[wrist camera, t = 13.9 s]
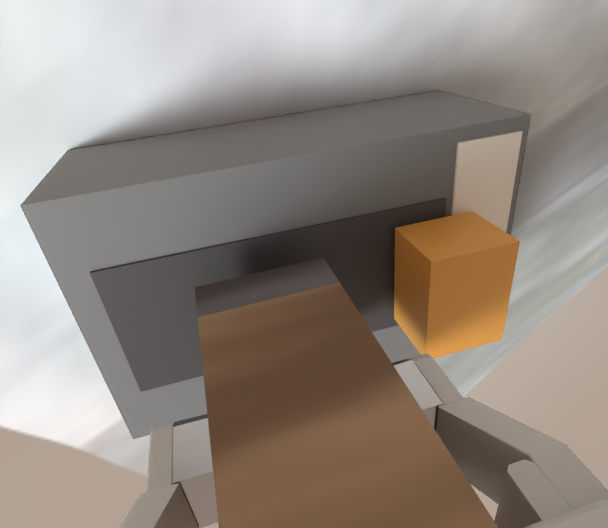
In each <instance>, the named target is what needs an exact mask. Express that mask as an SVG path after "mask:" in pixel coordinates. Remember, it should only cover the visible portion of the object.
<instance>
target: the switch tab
mask: <svg viewBox="0 0 608 528" xmlns="http://www.w3.org/2000/svg"><path fill="white" fill-rule="evenodd" d="M519 243H520V241H519V240H517V239H516V238H514V237H512V236H511V235H509V234H508V233H506V232H505V231H503V230H501V229H500V228H498V227H497V226H495V225H494V224H492V223H490V222H489V221H487V220H486V219H484V218H483V217H481V216H479V215H478V214H476V213H475V212H473V211H470V212H466V213H461V214H456V215H452V216H447V217H443V218H438V219H433V220H429V221H424V222H419V223H415V224H410V225H406V226H401V227H396V228H395V271H394V319H395V320H396V322H397V323H398V324H399V326H400V327H401V328H402V330H403V331H404V333H405V334H406V335H407V337H408V338H409V339H410V341H411V342H412V343H413V345H414V346H415V347H416V349H417V350H418V352H419V353H420V354H421V355H423V354H429V355H431V356H432V358H436V357H440V356H444V355H447V354H451V353H454V352H458V351H462V350H465V349H469V348H473V347H476V346H480V345H483V344H487V343H491V342H494V341H498V340H501V339H502V336H503V330H504V325H505V319H506V314H507V308H508V303H509V297H510V292H511V287H512V281H513V276H514V270H515V265H516V259H517V254H518V248H519Z"/></svg>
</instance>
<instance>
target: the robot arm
mask: <svg viewBox="0 0 608 528" xmlns="http://www.w3.org/2000/svg"><path fill="white" fill-rule="evenodd" d="M392 364H393V366H394V367H395V369H396V370H397V372H398V373H399V375H400V376H401V378H402V380H403V381H404V383H405V384H406V386H407V387H408V389H409V390H410V392H411V394H412V395H413V397H414V398H415V400H416V401H417V403H418V404H419V406H420V407H421V409H422V411H423V412H424V414H425V415H426V417H427V418H428V420H429V421H430V423H431V424H432V426H433V428H434V429H435V431H436V432H437V434H438V435H439V437H440V438H441V440H442V441H443V443H444V445H445V446H446V448H447V449H448V451H449V452H450V454H451V455H452V457H453V459H454V460H455V462H456V463H457V465H458V466H459V468H460V469H461V471H462V472H463V474H464V476H465V477H466V479H467V480H468V482H469V483H470V484H471V485H473V486H474V487H476V488H477V489H478V490H480V491H481V492H482V493H484V494H485V495H486V496H488V497H489V498H491V499H492V500H493V501H495V502H496V503H497V504H499V505H498V509H497V513H496V516H495V520H494V522H495V524H496V525H497V527H498V528H608V490H607V489H606V488H605V487H604V485H603V484H602V483H601V482H600V481H599V480H598V479H597V478H596V477H595V476H594V474H592V472H591V471H590V470H589V469H588V468H587V467H586V466H585V465H584V464H583V462H582V461H581V460H580V459H579V458H578V457H577V456H576V455H575V454H574V453H573V452H572V450H571V449H570V448H569V447H568V446H567V445H566V444H564V443H562V442H560V441H558V440H556V439H554V438H552V437H550V436H548V435H546V434H543V433H541V432H540V431H537V430H535V429H533V428H531V427H529V426H527V425H525V424H523V423H521V422H519V421H517V420H515V419H513V418H511V417H509V416H507V415H505V414H503V413H501V412H498V411H496V410H494V409H492V408H490V407H488V406H486V405H484V404H482V403H480V402H478V401H476V400H474V399H472V398H470V397H468V398H463V397H462V396H461V394H460V393H459V392H458V390H457V389H456V388H455V386H454V385H453V384H452V383H451V381H450V380H449V379H448V377H447V376H446V375H445V373H444V372H443V371H442V369H441V368H440V367H439V366H438V364H437V363H436V362H435V360H434V359H433V358H432V356H431V355H429V354H423V355H419V356H416V357H412V358H409V359H404V360H401V361H397V362H394V363H392ZM217 522H218V514H217V504H216V494H215V485H214V475H213V465H212V455H211V445H210V435H209V425H208V415H207V414H204V415H200V416H196V417H192V418H188V419H184V420H180V421H176V422H173V423H169V424H165V425H161V426H157V427H153V428H152V431H151V434H150V447H149V462H148V478H147V492H146V493H143V494H140V495H139V497H138V498H137V500H136V501H135V503H134V505H133V506H132V508H131V509H130V511H129V512H128V514H127V515H126V517H125V518H124V520H123V521H122V523H121V524H120V526H119V527H118V528H202V527H205V526H208V525H211V524H214V523H217Z"/></svg>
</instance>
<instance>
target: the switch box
mask: <svg viewBox="0 0 608 528" xmlns="http://www.w3.org/2000/svg"><path fill="white" fill-rule="evenodd" d="M530 117H531V114H528V113H524V112H520V111H516V110H512V109H509V108H505V107H501V106H497V105H493V104H489V103H485V102H481V101H477V100H474V99H470V98H466V97H462V96H458V95H454V94H450V93H446V92H443V91H439V90H438V91H432V92H425V93H419V94H413V95H407V96H401V97H394V98H388V99H382V100H376V101H370V102H363V103H357V104H351V105H345V106H339V107H332V108H326V109H320V110H314V111H308V112H301V113H295V114H289V115H283V116H277V117H270V118H264V119H258V120H252V121H246V122H239V123H233V124H227V125H221V126H215V127H208V128H202V129H196V130H190V131H184V132H177V133H171V134H165V135H159V136H153V137H146V138H140V139H134V140H128V141H122V142H115V143H109V144H103V145H97V146H91V147H84V148H78V149H72V150H68V151H67V152H66V153H65V154H64V155H63V156H62V158H61V159H60V160H59V161H58V162H57V163H56V165H55V166H54V167H53V168H52V169H51V170H50V172H49V173H48V174H47V175H46V176H45V177H44V179H43V180H42V181H41V182H40V183H39V184H38V186H37V187H36V188H35V189H34V190H33V191H32V193H31V194H30V195H29V196H28V197H27V198H26V200H25V201H24V202H23V203H22V204H21V205H20V206H21V208H22V210H23V212H24V214H25V216H26V218H27V220H28V222H29V224H30V227H31V229H32V231H33V233H34V235H35V237H36V239H37V241H38V243H39V245H40V247H41V249H42V251H43V253H44V256H45V258H46V260H47V262H48V264H49V266H50V268H51V270H52V272H53V274H54V276H55V278H56V280H57V282H58V284H59V287H60V289H61V291H62V293H63V295H64V297H65V299H66V301H67V303H68V305H69V307H70V309H71V311H72V313H73V316H74V318H75V320H76V322H77V324H78V326H79V328H80V330H81V332H82V334H83V336H84V338H85V340H86V342H87V344H88V347H89V349H90V351H91V353H92V355H93V357H94V359H95V361H96V363H97V365H98V367H99V369H100V371H101V373H102V375H103V378H104V380H105V382H106V384H107V386H108V388H109V390H110V392H111V394H112V396H113V398H114V400H115V402H116V404H117V407H118V409H119V411H120V413H121V415H122V417H123V419H124V421H125V423H126V425H127V427H128V429H129V431H130V433H131V435H132V438H133V439H135V438H139V437H142V436H146V435H150V434H151V431H152V428H153V427H157V426H161V425H165V424H169V423H173V422H176V421H180V420H184V419H188V418H192V417H196V416H200V415H204V414H207V405H206V396H205V386H204V376H203V366H202V356H201V346H200V336H199V326H198V316H197V307H196V297H195V287H198V286H202V285H207V284H211V283H215V282H219V281H224V280H228V279H232V278H236V277H241V276H245V275H249V274H254V273H258V272H262V271H266V270H271V269H275V268H279V267H283V266H288V265H292V264H296V263H300V262H305V261H309V260H313V259H318V258H322V257H324V259H325V260H326V262H327V264H328V265H329V267H330V268H331V270H332V271H333V273H334V274H335V276H336V277H337V279H338V281H339V282H340V284H341V285H342V287H343V288H344V290H345V291H346V293H347V294H348V296H349V298H350V299H351V301H352V302H353V304H354V305H355V307H356V308H357V310H358V311H359V313H360V315H361V316H362V318H363V319H364V321H365V322H366V324H367V325H368V327H369V329H370V330H371V332H372V333H373V335H374V336H375V338H376V339H377V341H378V342H379V344H380V346H381V347H382V349H383V350H384V352H385V353H386V355H387V356H388V358H389V359H390V361H391V363H394V362H397V361H401V360H404V359H409V358H412V357H416V356H419V355H421V354H420V353H419V352H418V350H417V349H416V347H415V346H414V345H413V343H412V342H411V341H410V339H409V338H408V337H407V335H406V334H405V333H404V331H403V330H402V328H401V327H400V326H399V324H398V323H397V322H396V320H395V319H394V271H395V228H396V227H401V226H406V225H410V224H415V223H419V222H424V221H429V220H433V219H438V218H443V217H447V216H452V215H456V214H461V213H466V212H470V211H473V212H475V213H476V214H478V215H479V216H481V217H483V218H484V219H486V220H487V221H489V222H490V223H492V224H494V225H495V226H497V227H498V228H500V229H501V230H503V231H505V232H506V233H508V234H509V235H511V229H512V223H513V217H514V211H515V205H516V199H517V193H518V188H519V182H520V176H521V170H522V164H523V158H524V152H525V146H526V140H527V134H528V128H529V123H530Z"/></svg>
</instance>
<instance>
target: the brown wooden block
mask: <svg viewBox="0 0 608 528" xmlns="http://www.w3.org/2000/svg"><path fill="white" fill-rule="evenodd" d="M195 297H196V307H197V316H198V326H199V336H200V346H201V356H202V366H203V376H204V386H205V396H206V405H207V415H208V425H209V435H210V445H211V455H212V465H213V475H214V485H215V494H216V504H217V514H218V524H219V528H498V527H497V525H496V524H495V522H494V521H493V519H492V517H491V516H490V514H489V513H488V511H487V510H486V508H485V507H484V505H483V503H482V502H481V500H480V499H479V497H478V496H477V494H476V493H475V491H474V489H473V488H472V487H471V485H470V483H469V482H468V480H467V479H466V477H465V476H464V474H463V472H462V471H461V469H460V468H459V466H458V465H457V463H456V462H455V460H454V459H453V457H452V455H451V454H450V452H449V451H448V449H447V448H446V446H445V445H444V443H443V441H442V440H441V438H440V437H439V435H438V434H437V432H436V431H435V429H434V428H433V426H432V424H431V423H430V421H429V420H428V418H427V417H426V415H425V414H424V412H423V411H422V409H421V407H420V406H419V404H418V403H417V401H416V400H415V398H414V397H413V395H412V394H411V392H410V390H409V389H408V387H407V386H406V384H405V383H404V381H403V380H402V378H401V376H400V375H399V373H398V372H397V370H396V369H395V367H394V366H393V364H392V363H391V361H390V359H389V358H388V356H387V355H386V353H385V352H384V350H383V349H382V347H381V346H380V344H379V342H378V341H377V339H376V338H375V336H374V335H373V333H372V332H371V330H370V329H369V327H368V325H367V324H366V322H365V321H364V319H363V318H362V316H361V315H360V313H359V311H358V310H357V308H356V307H355V305H354V304H353V302H352V301H351V299H350V298H349V296H348V294H347V293H346V291H345V290H344V288H343V287H342V285H341V284H340V282H339V281H338V279H337V277H336V276H335V274H334V273H333V271H332V270H331V268H330V267H329V265H328V264H327V262H326V260H325V259H324V257H322V258H318V259H313V260H309V261H305V262H300V263H296V264H292V265H288V266H283V267H279V268H275V269H271V270H266V271H262V272H258V273H254V274H249V275H245V276H241V277H236V278H232V279H228V280H224V281H219V282H215V283H211V284H207V285H202V286H198V287H195Z"/></svg>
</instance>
